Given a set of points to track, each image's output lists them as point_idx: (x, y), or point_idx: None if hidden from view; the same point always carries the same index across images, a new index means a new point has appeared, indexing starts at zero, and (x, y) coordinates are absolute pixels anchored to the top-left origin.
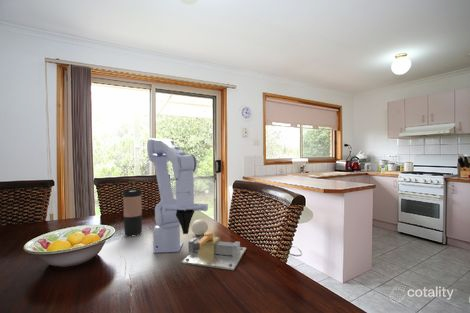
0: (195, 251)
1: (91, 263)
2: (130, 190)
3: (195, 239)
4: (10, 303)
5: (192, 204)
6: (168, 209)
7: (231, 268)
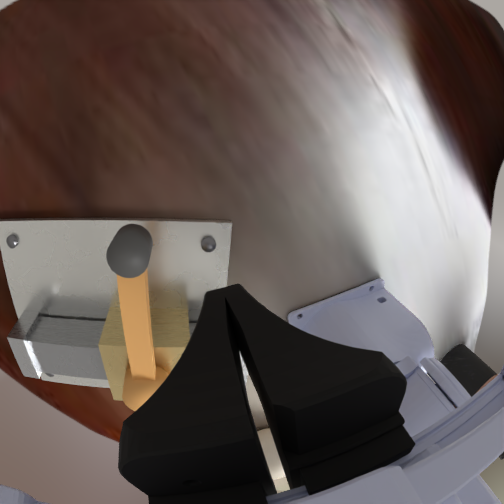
0: None
1: (492, 180)
2: None
3: None
4: (500, 29)
5: None
6: (495, 401)
7: (3, 220)
